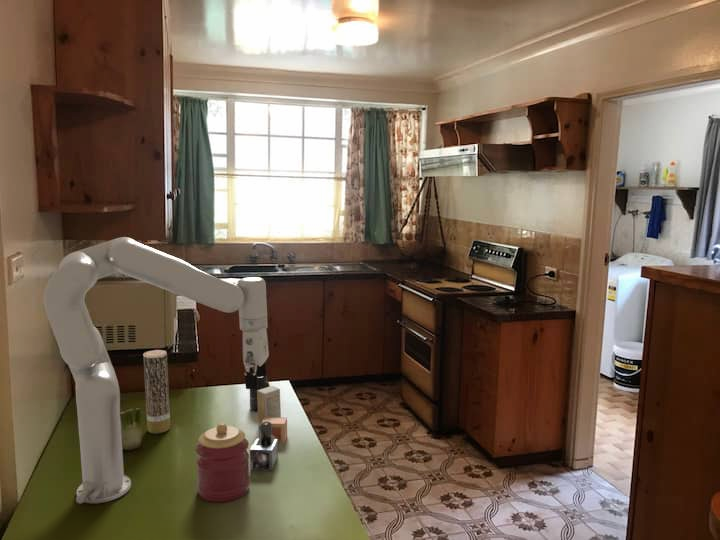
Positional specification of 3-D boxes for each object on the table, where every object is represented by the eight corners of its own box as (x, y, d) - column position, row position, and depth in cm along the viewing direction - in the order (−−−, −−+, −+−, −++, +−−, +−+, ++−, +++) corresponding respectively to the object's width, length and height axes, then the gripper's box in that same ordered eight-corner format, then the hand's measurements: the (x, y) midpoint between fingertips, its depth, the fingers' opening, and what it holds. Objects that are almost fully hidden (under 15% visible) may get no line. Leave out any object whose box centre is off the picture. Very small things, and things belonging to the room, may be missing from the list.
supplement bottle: (246, 410, 197) (245, 377, 195) (255, 403, 203) (254, 370, 201) (264, 413, 195) (263, 379, 193) (273, 405, 201) (272, 372, 200)
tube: (268, 466, 157) (267, 433, 156) (255, 466, 157) (254, 432, 156) (276, 446, 169) (276, 415, 167) (264, 446, 169) (263, 415, 168)
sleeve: (272, 470, 156) (272, 450, 155) (250, 470, 156) (249, 449, 155) (277, 456, 164) (277, 437, 163) (256, 456, 164) (256, 436, 163)
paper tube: (173, 425, 184) (170, 350, 181) (164, 435, 178) (160, 356, 174) (153, 424, 185) (149, 349, 181) (143, 434, 178) (139, 356, 175)
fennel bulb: (142, 443, 172) (140, 405, 170) (142, 451, 167) (139, 411, 165) (121, 446, 170) (119, 407, 168) (120, 454, 165) (118, 414, 164)
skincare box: (273, 420, 189) (272, 384, 187) (281, 424, 186) (281, 388, 184) (257, 426, 184) (256, 389, 182) (265, 430, 181) (264, 393, 179)
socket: (284, 442, 173) (284, 423, 172) (261, 442, 173) (261, 423, 172) (287, 436, 177) (286, 417, 176) (264, 435, 178) (264, 417, 177)
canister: (195, 481, 150) (192, 417, 148) (245, 473, 155) (243, 410, 152) (200, 507, 138) (197, 438, 136) (254, 497, 143) (252, 430, 140)
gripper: (259, 331, 149) (262, 394, 152) (274, 315, 166) (276, 371, 169) (230, 331, 150) (234, 393, 152) (248, 314, 167) (251, 371, 169)
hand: (256, 382), depth 161 cm, fingers open, 9 cm apart
